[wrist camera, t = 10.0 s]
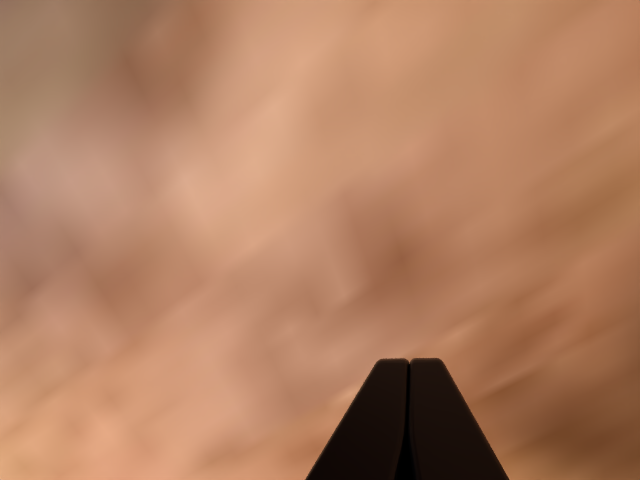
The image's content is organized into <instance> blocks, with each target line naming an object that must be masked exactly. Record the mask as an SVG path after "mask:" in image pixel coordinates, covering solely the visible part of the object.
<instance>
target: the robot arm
mask: <svg viewBox="0 0 640 480" xmlns="http://www.w3.org/2000/svg"><path fill="white" fill-rule="evenodd" d="M305 480H509V478H508V476H507V475H506V473H505V471H504V469H503V467H502V466H501V464H500V462H499V460H498V459H497V457H496V455H495V453H494V451H493V450H492V448H491V446H490V444H489V443H488V441H487V439H486V437H485V435H484V434H483V432H482V430H481V428H480V427H479V425H478V423H477V421H476V419H475V418H474V416H473V414H472V412H471V411H470V409H469V407H468V405H467V403H466V402H465V400H464V398H463V396H462V395H461V393H460V391H459V389H458V387H457V386H456V384H455V382H454V380H453V379H452V377H451V375H450V373H449V371H448V370H447V368H446V366H445V364H444V363H443V361H442V360H440V359H439V358H414V359H412V360H411V362H410V364H409V362H408V360H406V359H404V358H401V359H380V360H378V361H377V362H376V364H375V365H374V367H373V369H372V370H371V372H370V374H369V375H368V377H367V378H366V380H365V382H364V383H363V385H362V387H361V388H360V390H359V392H358V393H357V395H356V397H355V398H354V400H353V402H352V403H351V405H350V406H349V408H348V410H347V411H346V413H345V415H344V416H343V418H342V420H341V421H340V423H339V425H338V426H337V428H336V430H335V431H334V433H333V434H332V436H331V438H330V439H329V441H328V443H327V444H326V446H325V448H324V449H323V451H322V453H321V454H320V456H319V458H318V459H317V461H316V462H315V464H314V466H313V467H312V469H311V471H310V472H309V474H308V476H307V477H306V479H305Z"/></svg>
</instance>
